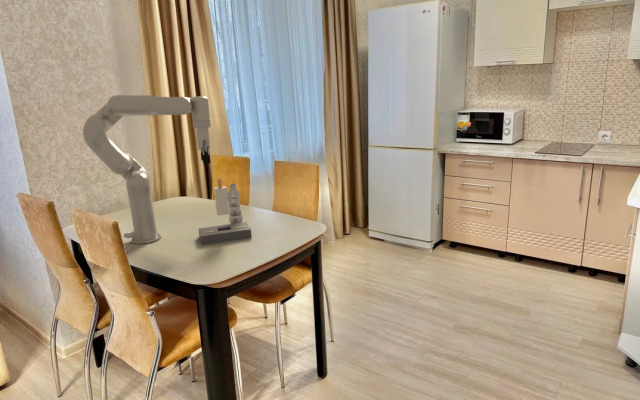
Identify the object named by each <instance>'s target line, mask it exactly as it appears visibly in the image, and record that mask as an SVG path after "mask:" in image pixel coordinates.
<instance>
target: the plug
mask: <svg viewBox="0 0 640 400" xmlns="http://www.w3.org/2000/svg"><path fill="white" fill-rule="evenodd" d="M213 190H214V198H215V211H216V215H217V216H224V215H229V203H228V197H227V193H228V187H227V186H225V185H224V186H223V181H222V178H217V186H216V187H215V186H214V187H213Z"/></svg>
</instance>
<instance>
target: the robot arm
mask: <svg viewBox="0 0 640 400" xmlns="http://www.w3.org/2000/svg"><path fill="white" fill-rule="evenodd" d="M189 113H191V115H192V124H193V129H195V130H196V131H195V133H196V143H197V144H196V145H197V149H198V151H200V160H201V161H202V163H203V164H204V165H205V164H206V165H207V164H211V155H210V150H211V143H210V132H209V128H211V127H212V125H211V116H210V115H211V114H210V105H209V98H208V97H207V96H205V95H204V96H203V95H202V96H201V95H200V96H193V97H189V96H155V95H146V94H145V95H144V94H143V95H142V94H141V95H134V94H131V95H129V94H127V95H126V94H125V95H124V94H115V95H112V96H110V98H108V100H107V102H106V103H105V104H104V105H103V106H102V107H101V108H100V109H98V111H97V112H96V113H94V114H92V115H90V116H88V118H87V119H86V120H85V122H84V125H83V127H82V128H83V129H82V136H83V140H84V141H85V143H86V145H87V147H88V148H89V149H90V150H91V152H93V153H94V154H95V156H97V157H98V158H99V160H100V161H102V162H103V163H104V164H105V165H106V167H107V168H109V170H110V171H111V172H112V173H114V174H116V175H120V176H121V177H122V178H123V179H124V180H125V182H126V183H125V184H126V185H125V186H126V192H127V194H128V196H127V197H128V202H129V208H130V214H131V220H132V227H133V231H131V232H126V233H123V237H124V238H125V239H131V243H133V244H137V245H142V244H144V243H145V244H150V243H153V242H157V241H159V240H160V239H161V238H162V234H161V233H158V232H157V224H156V218H155V216H156V215H155V210H154V209H155V208H154V203H153V202H154V201H153V196H152V191H151V190H152V189H151V177H150V174H149V172H148V171H147V170H146V169H145V168H144V167H143V165H141V164H140V163H139V162H138V161H137V159H135V157H134V156H132V155H131V154H130V153H128V152H127V151H124V150H121V149H120V148H119V147H118V146H117V145H116V144H115V143H114V142H113V141H112V140H111V139H110V138H109V137H108V136H107V132H108V131H109V130H110V129H112V127H114V126H115V125H116V124H117V123H118V122H119V121H120V120H121V119H122V118H123V117H124V116H127V117H128V116H150V117H151V116H183V115H184V116H185V115H188V114H189Z"/></svg>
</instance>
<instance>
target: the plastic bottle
mask: <svg viewBox="0 0 640 400" xmlns="http://www.w3.org/2000/svg"><path fill="white" fill-rule="evenodd" d="M237 186H238V185H237V184H236V183H232V184H228V191H227V197H228V207H229V214H228V215H229V216H228V220H229V221H228V222H229V223H230V224H235V223H242V222H244V221H243V219H244V218H243V214H242V211H241V194H240V191H239V190H238V187H237Z"/></svg>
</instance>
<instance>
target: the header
mask: <svg viewBox="0 0 640 400" xmlns="http://www.w3.org/2000/svg"><path fill="white" fill-rule="evenodd" d="M198 236H199V240H200V243H201V245H202V246H204V245H210V244H217V243H223V242H229V241H230V242H231V241H237V240H246V239H251V238H253V237H252V229H251V227H250V226H249V224H248V222H246V221H242V223H235V224H231V223H230V224H221V225H216V226H214V225H213V226H206V227H200V228H199V227H198Z"/></svg>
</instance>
